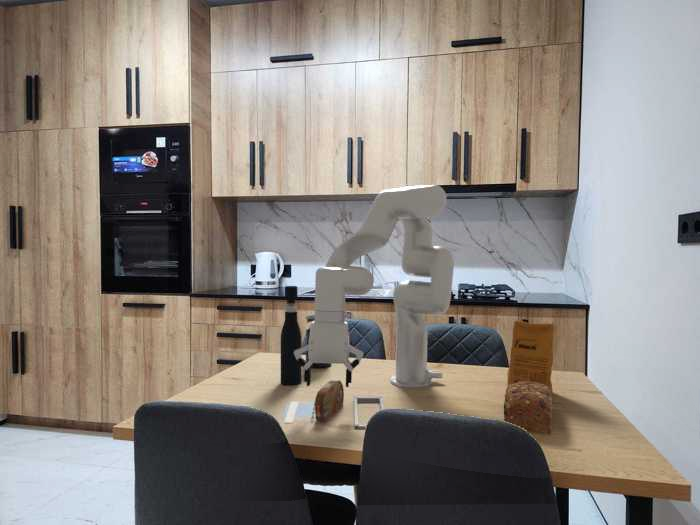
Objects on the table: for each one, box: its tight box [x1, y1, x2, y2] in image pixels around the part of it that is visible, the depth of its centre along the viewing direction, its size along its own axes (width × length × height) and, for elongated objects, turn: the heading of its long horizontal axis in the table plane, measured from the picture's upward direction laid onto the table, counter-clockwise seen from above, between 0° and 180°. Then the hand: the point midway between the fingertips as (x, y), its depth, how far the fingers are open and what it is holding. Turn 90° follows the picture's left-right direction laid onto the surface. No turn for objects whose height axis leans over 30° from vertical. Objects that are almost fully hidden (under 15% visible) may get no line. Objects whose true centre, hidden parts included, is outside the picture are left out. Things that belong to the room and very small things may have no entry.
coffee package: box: [506, 319, 555, 398], centre depth 134 cm, size 10×12×22 cm
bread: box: [503, 381, 553, 435], centre depth 114 cm, size 19×11×10 cm, turn 157°
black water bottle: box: [280, 285, 303, 387], centre depth 145 cm, size 6×6×30 cm
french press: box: [305, 299, 333, 369], centre depth 168 cm, size 12×9×23 cm
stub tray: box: [353, 396, 385, 430], centre depth 118 cm, size 8×20×2 cm, turn 0°
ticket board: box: [279, 401, 316, 424], centre depth 119 cm, size 8×14×1 cm, turn 0°
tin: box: [314, 380, 345, 423], centre depth 119 cm, size 15×3×8 cm, turn 162°
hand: (327, 385), depth 118 cm, fingers open, 9 cm apart
